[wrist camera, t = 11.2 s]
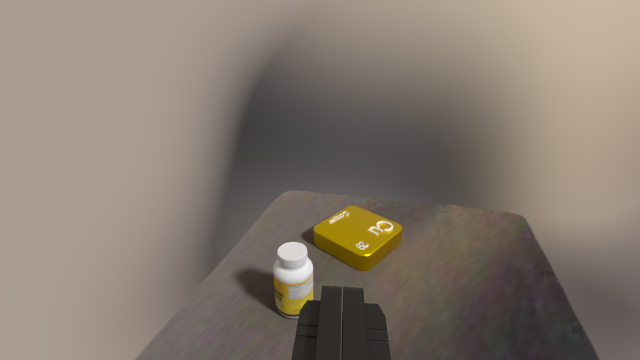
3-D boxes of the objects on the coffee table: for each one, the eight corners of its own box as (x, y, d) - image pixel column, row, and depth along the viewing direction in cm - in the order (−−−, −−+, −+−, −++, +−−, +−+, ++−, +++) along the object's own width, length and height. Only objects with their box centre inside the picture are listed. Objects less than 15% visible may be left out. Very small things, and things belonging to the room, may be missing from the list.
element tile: (351, 218, 82) (351, 201, 80) (404, 242, 73) (406, 224, 71) (309, 244, 72) (309, 226, 70) (364, 276, 63) (366, 256, 61)
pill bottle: (279, 290, 59) (275, 237, 54) (315, 292, 59) (314, 238, 54) (272, 319, 53) (267, 262, 48) (311, 321, 53) (310, 264, 48)
